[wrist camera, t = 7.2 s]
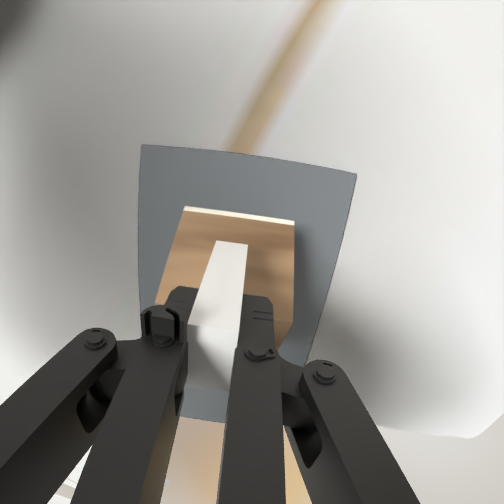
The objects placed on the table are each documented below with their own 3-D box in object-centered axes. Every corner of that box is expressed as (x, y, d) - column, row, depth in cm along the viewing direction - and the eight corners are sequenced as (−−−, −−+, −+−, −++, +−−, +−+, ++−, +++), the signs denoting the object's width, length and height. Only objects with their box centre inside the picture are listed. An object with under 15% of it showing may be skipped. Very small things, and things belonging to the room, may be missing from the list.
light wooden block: (184, 205, 19) (154, 302, 15) (294, 220, 20) (292, 322, 15) (189, 268, 25) (171, 349, 21) (275, 280, 25) (270, 363, 21)
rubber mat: (142, 144, 21) (141, 145, 21) (355, 173, 22) (356, 174, 21) (152, 408, 33) (151, 410, 33) (281, 426, 34) (281, 428, 33)
